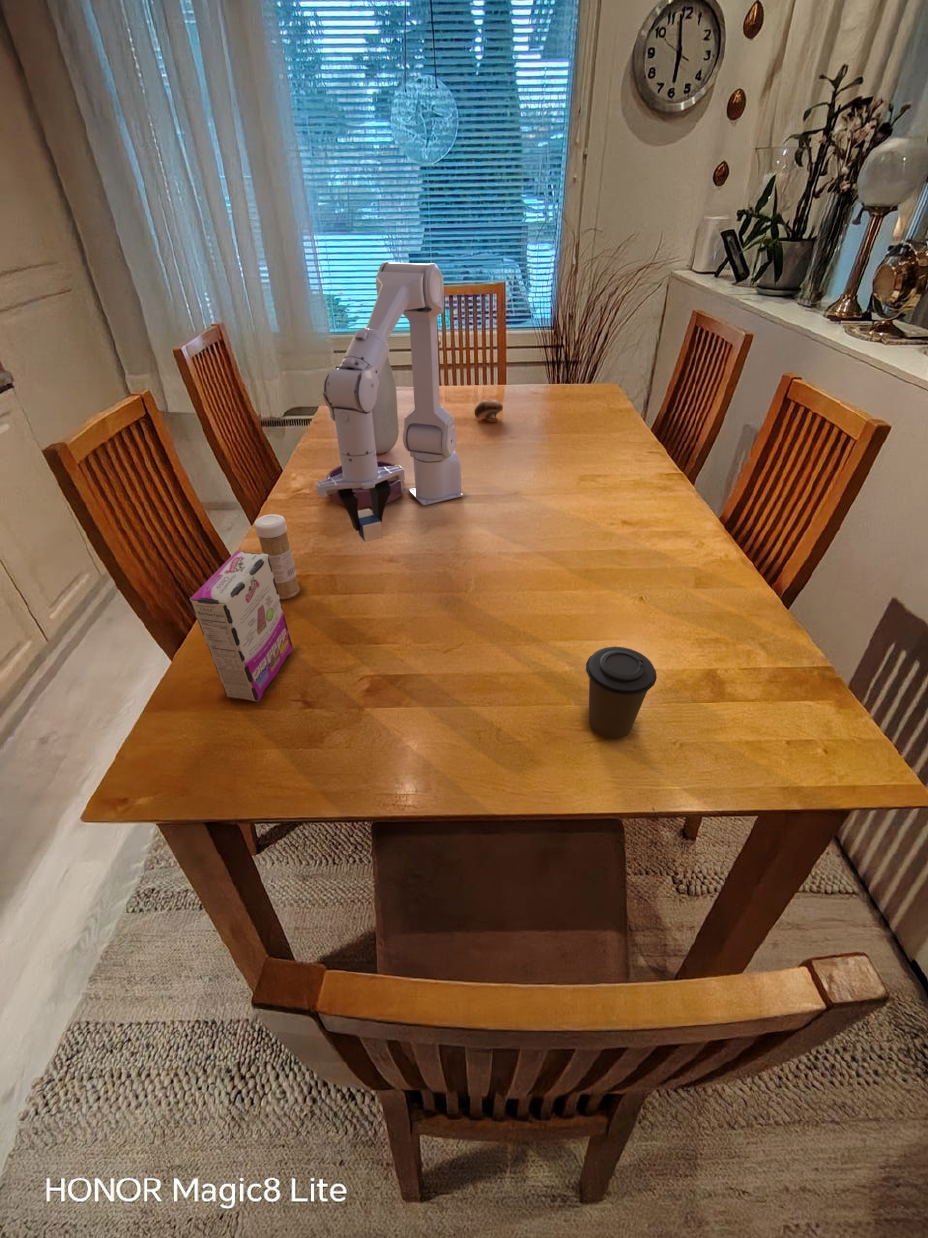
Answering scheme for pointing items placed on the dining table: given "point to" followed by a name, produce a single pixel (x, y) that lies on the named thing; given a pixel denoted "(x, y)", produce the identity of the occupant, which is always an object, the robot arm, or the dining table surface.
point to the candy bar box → (243, 624)
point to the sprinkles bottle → (278, 553)
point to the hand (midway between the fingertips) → (367, 525)
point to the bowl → (364, 494)
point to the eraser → (369, 526)
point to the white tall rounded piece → (385, 411)
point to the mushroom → (488, 410)
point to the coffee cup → (617, 689)
